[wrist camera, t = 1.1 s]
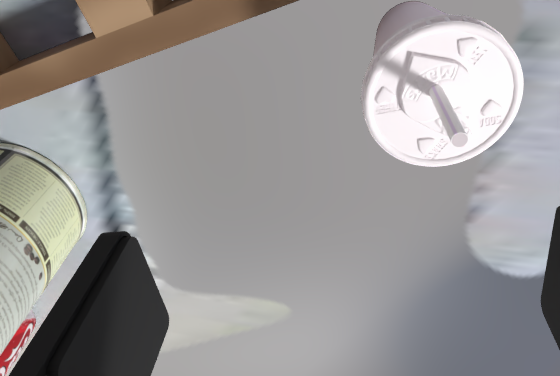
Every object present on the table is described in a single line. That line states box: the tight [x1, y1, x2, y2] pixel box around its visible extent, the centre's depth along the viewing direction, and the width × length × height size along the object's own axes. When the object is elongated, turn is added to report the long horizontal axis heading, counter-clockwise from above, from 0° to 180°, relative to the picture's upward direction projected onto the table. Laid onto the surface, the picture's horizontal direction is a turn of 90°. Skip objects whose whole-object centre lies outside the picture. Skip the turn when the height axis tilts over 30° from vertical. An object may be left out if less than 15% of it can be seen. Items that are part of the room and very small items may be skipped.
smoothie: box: [361, 1, 523, 167], centre depth 22 cm, size 6×6×14 cm
